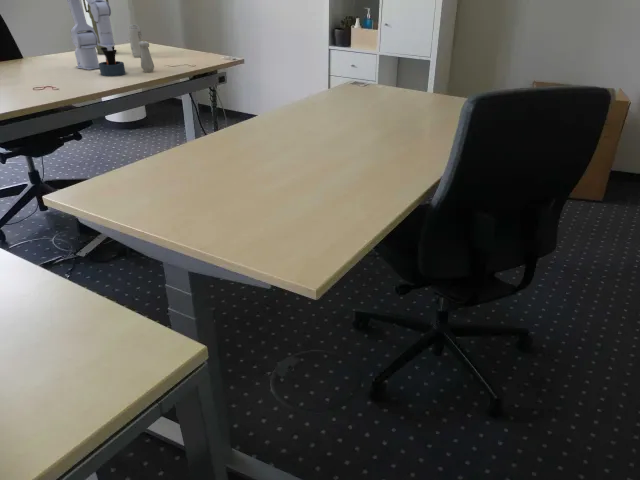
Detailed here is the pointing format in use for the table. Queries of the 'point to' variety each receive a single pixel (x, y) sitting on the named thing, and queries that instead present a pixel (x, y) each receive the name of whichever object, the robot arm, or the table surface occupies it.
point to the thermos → (94, 27)
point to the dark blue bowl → (112, 69)
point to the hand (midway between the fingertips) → (111, 65)
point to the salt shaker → (146, 57)
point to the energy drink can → (135, 39)
